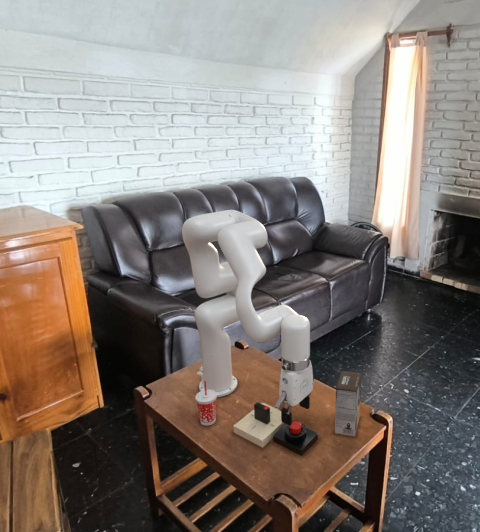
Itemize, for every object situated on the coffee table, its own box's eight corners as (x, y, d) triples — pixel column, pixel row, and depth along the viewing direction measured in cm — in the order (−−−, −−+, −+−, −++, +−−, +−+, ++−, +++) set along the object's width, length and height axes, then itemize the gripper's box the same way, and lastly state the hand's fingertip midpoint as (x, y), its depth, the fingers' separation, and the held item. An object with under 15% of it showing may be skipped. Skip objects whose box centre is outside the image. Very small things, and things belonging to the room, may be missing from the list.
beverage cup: (207, 430, 129) (204, 390, 124) (193, 422, 132) (189, 382, 127) (222, 418, 134) (220, 379, 129) (208, 411, 137) (205, 372, 132)
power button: (287, 431, 124) (287, 426, 124) (294, 425, 127) (294, 420, 126) (296, 435, 123) (296, 430, 122) (303, 429, 125) (303, 424, 124)
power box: (273, 441, 125) (272, 430, 124) (290, 426, 132) (290, 415, 130) (301, 456, 120) (301, 445, 119) (317, 439, 127) (318, 428, 125)
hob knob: (254, 418, 130) (253, 404, 129) (258, 415, 132) (257, 401, 130) (266, 424, 128) (266, 410, 126) (270, 421, 129) (270, 407, 128)
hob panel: (233, 432, 128) (233, 425, 127) (262, 408, 139) (262, 401, 138) (262, 447, 123) (262, 440, 122) (290, 422, 133) (290, 414, 132)
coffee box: (339, 413, 137) (341, 369, 132) (359, 416, 136) (362, 372, 131) (334, 433, 129) (335, 387, 123) (355, 437, 128) (358, 391, 122)
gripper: (286, 381, 108) (287, 438, 114) (325, 350, 122) (323, 403, 128) (263, 371, 112) (265, 427, 118) (303, 342, 126) (302, 394, 132)
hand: (295, 414), depth 123 cm, fingers open, 7 cm apart
